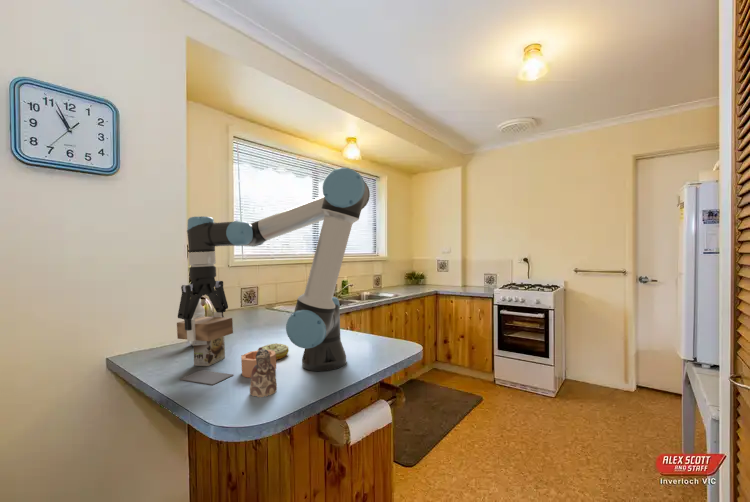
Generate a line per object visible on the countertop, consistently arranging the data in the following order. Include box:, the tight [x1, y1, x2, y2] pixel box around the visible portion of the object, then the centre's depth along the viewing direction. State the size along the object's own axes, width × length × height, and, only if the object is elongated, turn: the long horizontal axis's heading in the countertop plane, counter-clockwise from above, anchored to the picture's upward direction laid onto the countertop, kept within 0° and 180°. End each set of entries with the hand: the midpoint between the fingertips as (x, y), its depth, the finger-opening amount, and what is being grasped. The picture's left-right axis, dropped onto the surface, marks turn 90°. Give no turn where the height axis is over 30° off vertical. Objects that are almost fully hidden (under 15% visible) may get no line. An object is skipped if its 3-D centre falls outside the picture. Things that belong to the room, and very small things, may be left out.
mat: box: [179, 369, 234, 386], centre depth 106 cm, size 14×8×1 cm, turn 68°
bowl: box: [240, 349, 277, 379], centre depth 109 cm, size 10×10×6 cm
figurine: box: [249, 346, 278, 398], centre depth 93 cm, size 7×7×12 cm
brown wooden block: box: [176, 316, 234, 341], centre depth 105 cm, size 13×10×5 cm
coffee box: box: [192, 315, 226, 367], centre depth 121 cm, size 9×6×16 cm
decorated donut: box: [256, 342, 290, 361], centre depth 124 cm, size 11×12×4 cm
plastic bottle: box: [188, 298, 206, 347], centre depth 144 cm, size 6×7×20 cm
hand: (205, 336), depth 105 cm, fingers closed on brown wooden block, 9 cm apart
